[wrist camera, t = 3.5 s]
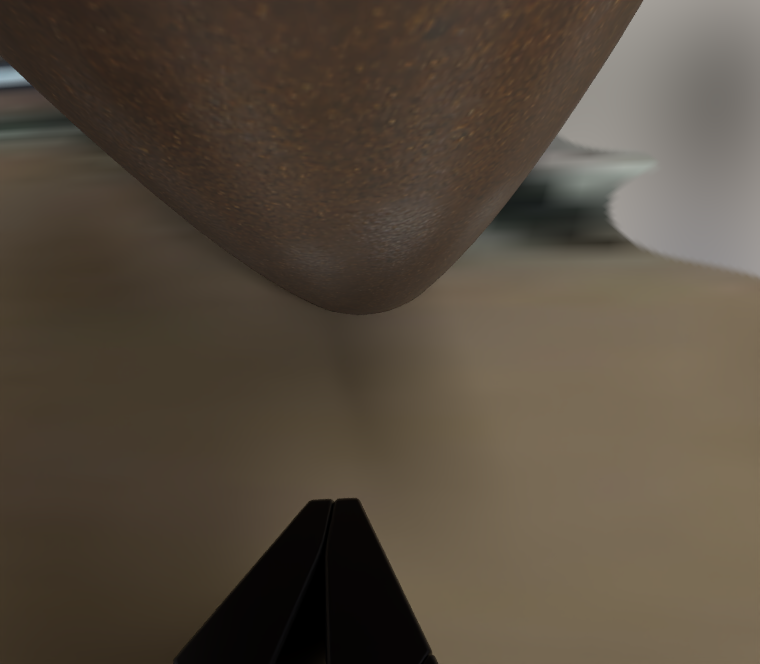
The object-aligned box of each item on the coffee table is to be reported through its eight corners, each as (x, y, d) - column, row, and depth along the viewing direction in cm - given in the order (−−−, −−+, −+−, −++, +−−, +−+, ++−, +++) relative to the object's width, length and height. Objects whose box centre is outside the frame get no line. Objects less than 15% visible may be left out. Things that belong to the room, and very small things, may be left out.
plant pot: (137, 200, 22) (-359, -459, 8) (407, 69, 25) (416, -593, 11) (290, 485, 17) (-415, 68, 2) (613, 277, 20) (1219, -500, 5)
